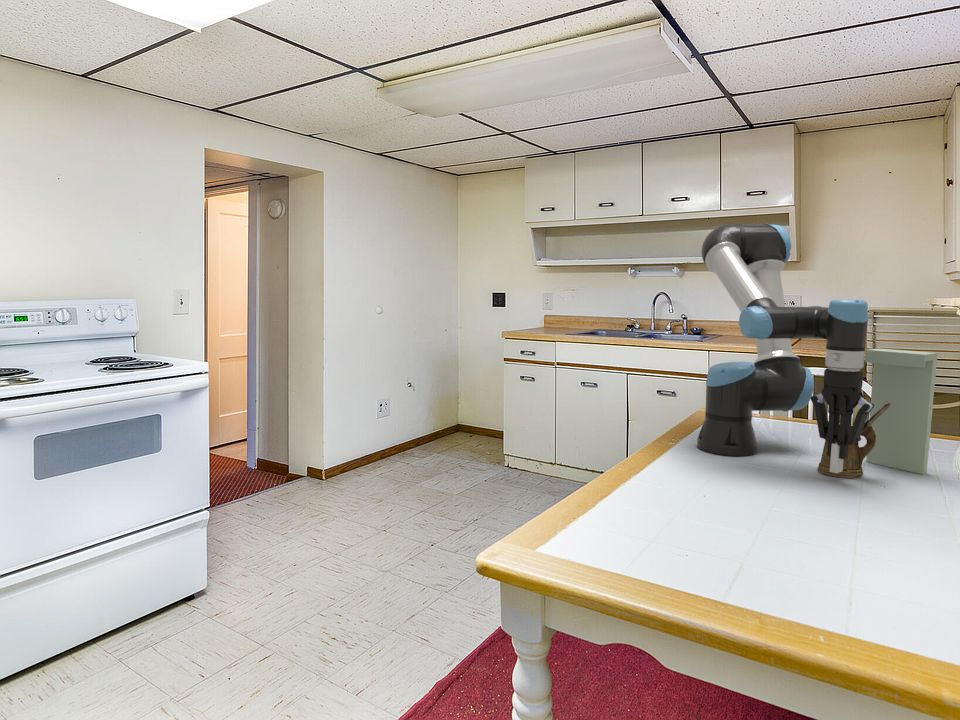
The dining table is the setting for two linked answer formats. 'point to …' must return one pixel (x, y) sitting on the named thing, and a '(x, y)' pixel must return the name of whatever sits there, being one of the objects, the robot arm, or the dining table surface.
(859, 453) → the wooden mug
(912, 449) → the sage green upright panel
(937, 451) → the dining table surface
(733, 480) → the dining table surface
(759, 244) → the robot arm
